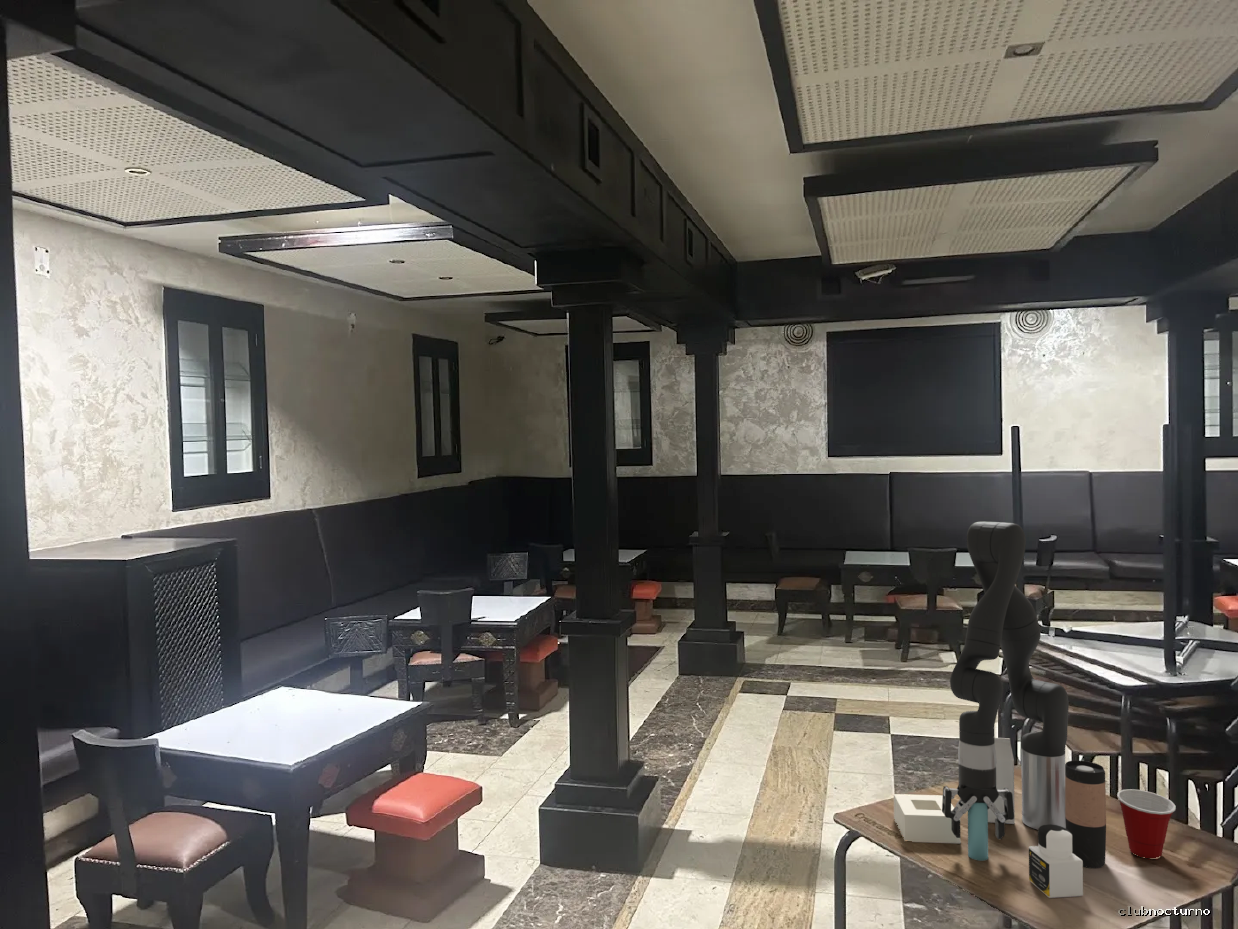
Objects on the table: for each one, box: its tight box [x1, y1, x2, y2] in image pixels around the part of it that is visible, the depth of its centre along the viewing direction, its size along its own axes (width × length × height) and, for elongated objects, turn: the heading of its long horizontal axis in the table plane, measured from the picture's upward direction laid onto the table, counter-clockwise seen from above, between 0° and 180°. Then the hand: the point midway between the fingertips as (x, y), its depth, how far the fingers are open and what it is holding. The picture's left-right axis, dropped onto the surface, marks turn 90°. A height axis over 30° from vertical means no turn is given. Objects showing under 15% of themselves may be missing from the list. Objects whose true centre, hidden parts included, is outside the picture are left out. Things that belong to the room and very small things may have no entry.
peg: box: [967, 803, 989, 862], centre depth 185 cm, size 4×4×12 cm
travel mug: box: [1065, 759, 1107, 869], centre depth 182 cm, size 8×8×20 cm
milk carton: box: [988, 737, 1016, 825], centre depth 204 cm, size 7×7×19 cm
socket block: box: [893, 793, 962, 844], centre depth 198 cm, size 12×12×6 cm
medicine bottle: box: [1028, 824, 1084, 899], centre depth 171 cm, size 7×7×12 cm
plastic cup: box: [1116, 788, 1177, 858], centre depth 185 cm, size 11×11×12 cm
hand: (977, 837), depth 185 cm, fingers open, 8 cm apart
